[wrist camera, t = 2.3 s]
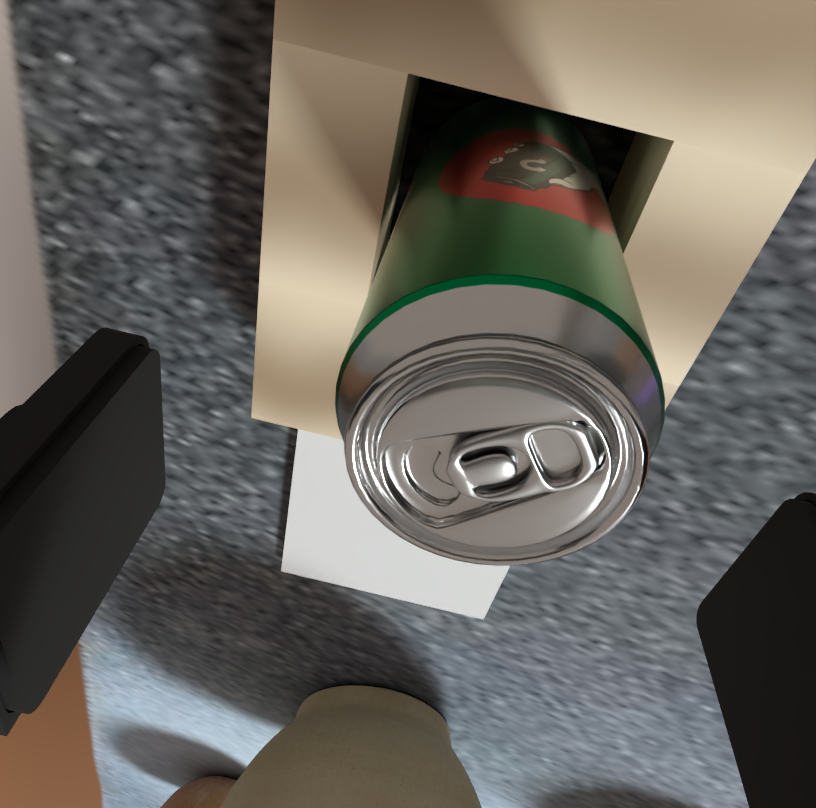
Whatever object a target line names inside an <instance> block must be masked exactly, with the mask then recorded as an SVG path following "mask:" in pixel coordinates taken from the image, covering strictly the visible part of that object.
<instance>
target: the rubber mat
mask: <svg viewBox="0 0 816 808" xmlns="http://www.w3.org/2000/svg"><path fill="white" fill-rule="evenodd" d="M509 567H510V566H493V565H481V564H473V563H467V562H462V561H456V560H453V559H449V558H446V557H442V556H439V555H436V554H433V553H431V552H428V551H426V550H423V549H421V548H418V547H417V546H415V545H413V544H411V543H409V542H407V541H406V540H404V539H402V538H400V537H399V536H397V535H396V534H395V533H393V532H392V531H390V530H389V529H388V528H386V527H385V526H384V525H383V524H382V523H381V522H380V521H379V520H377V519H376V518H375V517H374V516H373V515H372V514H371V512H370V511H369V510H368V509H367V507H366V506H365V505H364V504H363V503H362V501H361V500H360V498H359V496H358V494H357V493H356V491H355V489H354V487H353V485H352V483H351V480H350V477H349V474H348V471H347V467H346V460H345V452H344V442H343V440H341V439H337V438H333V437H329V436H325V435H321V434H316V433H312V432H308V431H304V430H300V429H298V434H297V443H296V451H295V459H294V467H293V476H292V484H291V492H290V501H289V509H288V517H287V525H286V534H285V542H284V550H283V559H282V567H281V571H282V572H286V573H290V574H295V575H299V576H303V577H307V578H311V579H316V580H320V581H324V582H328V583H332V584H337V585H341V586H345V587H349V588H353V589H358V590H362V591H366V592H370V593H374V594H379V595H383V596H387V597H391V598H395V599H400V600H404V601H408V602H412V603H416V604H421V605H425V606H429V607H433V608H437V609H442V610H446V611H450V612H454V613H458V614H463V615H467V616H471V617H475V618H479V619H484V617H485V615H486V613H487V611H488V609H489V607H490V605H491V603H492V601H493V599H494V597H495V595H496V593H497V591H498V589H499V587H500V585H501V583H502V581H503V579H504V577H505V575H506V573H507V571H508V569H509Z"/></svg>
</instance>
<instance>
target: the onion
mask: <svg viewBox="0 0 816 808" xmlns="http://www.w3.org/2000/svg"><path fill="white" fill-rule="evenodd" d="M236 782H237V780H235V779H232V778H227V777H221V776H208V777H204V778H200V779H196V780H193V781H191V782H189V783H187V784H186V785H184V786H183V787H181V788H180V789H178V790H177V791H176V792H175V793H174V794H173V795H172V796H171V797H170V798H169V799H168V800H167V801H166V802H165V803H164V804H163V806H162V807H161V808H221V806H222V804H223V802H224V800H225V799H226V797H227V796H228V794H229V792H230V791H231V789H232V787H233V786H234V784H235V783H236Z"/></svg>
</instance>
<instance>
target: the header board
mask: <svg viewBox="0 0 816 808" xmlns="http://www.w3.org/2000/svg"><path fill="white" fill-rule="evenodd" d="M420 77H424V78H428V79H432V80H436V81H440V82H444V83H448V84H452V85H456V86H460V87H464V88H467V89H471V90H475V91H479V92H483V93H487V94H491V95H495V96H499V97H503V98H507V99H511V100H515V101H519V102H523V103H527V104H530V105H534V106H538V107H542V108H546V109H550V110H554V111H558V112H562V113H566V114H570V115H574V116H578V117H582V118H586V119H590V120H593V121H597V122H601V123H605V124H609V125H613V126H617V127H621V128H625V129H629V130H633V131H636V134H635V136H634V139H633V141H632V144H631V146H630V148H629V151H628V153H627V156H626V158H625V161H624V163H623V166H622V168H621V170H620V173H619V175H618V178H617V180H616V183H615V185H614V187H613V190H612V192H611V195H610V197H609V200H608V202H607V204H608V208H609V211H610V214H611V217H612V220H613V224H614V227H615V230H616V233H617V236H618V240H619V243H620V246H621V249H622V252H623V256H624V259H625V262H626V265H627V268H628V272H629V275H630V278H631V281H632V284H633V288H634V291H635V294H636V297H637V300H638V304H639V307H640V310H641V313H642V316H643V320H644V323H645V326H646V329H647V332H648V336H649V339H650V342H651V345H652V348H653V352H654V355H655V358H656V361H657V364H658V368H659V371H660V374H661V377H662V383H663V389H664V395H665V409H666V407H667V406H668V404H669V402H670V401H671V399H672V397H673V396H674V394H675V392H676V391H677V389H678V387H679V386H680V384H681V382H682V381H683V379H684V377H685V376H686V374H687V372H688V371H689V369H690V367H691V366H692V364H693V362H694V361H695V359H696V357H697V356H698V354H699V352H700V351H701V349H702V347H703V346H704V344H705V342H706V341H707V339H708V337H709V336H710V334H711V332H712V331H713V329H714V327H715V325H716V324H717V322H718V320H719V319H720V317H721V315H722V314H723V312H724V310H725V309H726V307H727V305H728V304H729V302H730V300H731V299H732V297H733V295H734V294H735V292H736V290H737V289H738V287H739V285H740V284H741V282H742V280H743V279H744V277H745V275H746V274H747V272H748V270H749V269H750V267H751V265H752V264H753V262H754V260H755V259H756V257H757V255H758V254H759V252H760V250H761V249H762V247H763V245H764V244H765V242H766V240H767V239H768V237H769V235H770V234H771V232H772V230H773V229H774V227H775V225H776V224H777V222H778V220H779V219H780V217H781V215H782V213H783V212H784V210H785V208H786V207H787V205H788V203H789V202H790V200H791V198H792V197H793V195H794V193H795V192H796V190H797V188H798V187H799V185H800V183H801V182H802V180H803V178H804V177H805V175H806V173H807V172H808V170H809V168H810V167H811V165H812V163H813V162H814V160H815V158H816V0H275V13H274V31H273V48H272V66H271V83H270V101H269V118H268V136H267V153H266V171H265V188H264V206H263V223H262V241H261V258H260V276H259V294H258V311H257V329H256V346H255V364H254V381H253V399H252V416H251V418H255V419H259V420H263V421H267V422H271V423H275V424H279V425H283V426H288V427H292V428H296V429H300V430H304V431H308V432H312V433H316V434H321V435H325V436H329V437H333V438H337V439H341V440H343V439H342V436H341V433H340V430H339V427H338V423H337V416H336V410H335V392H336V383H337V379H338V375H339V371H340V367H341V364H342V361H343V359H344V356H345V353H346V351H347V348H348V346H349V343H350V340H351V338H352V335H353V333H354V330H355V327H356V325H357V322H358V320H359V317H360V315H361V312H362V309H363V307H364V304H365V302H366V299H367V296H368V294H369V291H370V289H371V286H372V284H373V281H374V278H375V276H376V273H377V271H378V268H379V265H380V263H381V260H382V258H383V255H384V252H385V250H386V247H387V245H388V240H389V235H390V230H391V224H392V219H393V214H394V209H395V204H396V198H397V193H398V188H399V183H400V178H401V173H402V167H403V162H404V157H405V152H406V147H407V141H408V136H409V131H410V126H411V121H412V116H413V110H414V105H415V100H416V95H417V90H418V84H419V79H420Z"/></svg>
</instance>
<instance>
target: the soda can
mask: <svg viewBox="0 0 816 808" xmlns="http://www.w3.org/2000/svg"><path fill="white" fill-rule="evenodd" d="M335 410H336V416H337V423H338V427H339V430H340V433H341V436H342V439H343V442H344V452H345V460H346V467H347V471H348V474H349V477H350V480H351V483H352V485H353V487H354V489H355V491H356V493H357V494H358V496H359V498H360V500H361V501H362V503H363V504H364V505H365V506H366V507H367V509H368V510H369V511H370V512H371V514H372V515H373V516H374V517H375V518H376V519H377V520H379V521H380V522H381V523H382V524H383V525H384V526H385V527H386V528H388V529H389V530H390V531H392V532H393V533H395V534H396V535H397V536H399V537H400V538H402V539H404V540H406V541H407V542H409V543H411V544H413V545H415V546H417V547H418V548H421V549H423V550H426V551H428V552H431V553H433V554H436V555H439V556H442V557H446V558H449V559H453V560H456V561H462V562H467V563H473V564H481V565H493V566H512V565H525V564H533V563H540V562H544V561H549V560H553V559H557V558H560V557H563V556H566V555H569V554H572V553H575V552H577V551H579V550H581V549H583V548H585V547H587V546H589V545H591V544H593V543H595V542H597V541H598V540H600V539H601V538H603V537H604V536H606V535H607V534H608V533H610V532H611V531H612V530H613V529H615V528H616V527H617V526H618V525H619V524H620V523H621V522H622V521H623V520H624V519H625V518H626V517H627V515H628V514H629V513H630V511H631V510H632V509H633V508H634V506H635V505H636V503H637V501H638V499H639V497H640V495H641V493H642V491H643V489H644V486H645V483H646V479H647V475H648V471H649V466H650V459H651V457H652V455H653V453H654V451H655V448H656V446H657V444H658V442H659V439H660V435H661V432H662V428H663V424H664V416H665V395H664V389H663V383H662V377H661V374H660V371H659V368H658V364H657V361H656V358H655V355H654V352H653V348H652V345H651V342H650V339H649V336H648V332H647V329H646V326H645V323H644V320H643V316H642V313H641V310H640V307H639V304H638V300H637V297H636V294H635V291H634V288H633V284H632V281H631V278H630V275H629V272H628V268H627V265H626V262H625V259H624V256H623V252H622V249H621V246H620V243H619V240H618V236H617V233H616V230H615V227H614V224H613V220H612V217H611V214H610V211H609V208H608V204H607V201H606V198H605V195H604V192H603V188H602V185H601V182H600V179H599V176H598V172H597V169H596V166H595V163H594V160H593V157H592V154H591V151H590V149H589V146H588V144H587V142H586V141H585V139H584V137H583V136H582V134H581V132H580V131H579V130H578V129H577V128H576V126H575V125H574V124H573V123H572V122H571V121H570V120H569V119H568V118H567V117H565V116H564V115H563V114H562V113H560V112H558V111H554V110H550V109H546V108H542V107H538V106H534V105H530V104H527V103H523V102H519V101H515V100H511V99H507V98H503V97H498V98H493V99H488V100H484V101H481V102H478V103H475V104H473V105H470V106H468V107H467V108H465V109H463V110H461V111H459V112H458V113H456V114H455V115H454V116H452V117H451V118H450V119H449V120H447V121H446V122H445V123H444V124H443V125H442V126H441V127H440V128H439V130H438V131H437V132H436V133H435V134H434V136H433V137H432V139H431V140H430V142H429V143H428V145H427V146H426V148H425V151H424V153H423V155H422V157H421V159H420V162H419V164H418V167H417V170H416V172H415V175H414V177H413V180H412V183H411V185H410V188H409V190H408V193H407V196H406V198H405V201H404V203H403V206H402V208H401V211H400V214H399V216H398V219H397V221H396V224H395V227H394V229H393V232H392V234H391V237H390V240H389V242H388V245H387V247H386V250H385V252H384V255H383V258H382V260H381V263H380V265H379V268H378V271H377V273H376V276H375V278H374V281H373V284H372V286H371V289H370V291H369V294H368V296H367V299H366V302H365V304H364V307H363V309H362V312H361V315H360V317H359V320H358V322H357V325H356V327H355V330H354V333H353V335H352V338H351V340H350V343H349V346H348V348H347V351H346V353H345V356H344V359H343V361H342V364H341V367H340V371H339V375H338V379H337V383H336V392H335Z"/></svg>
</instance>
